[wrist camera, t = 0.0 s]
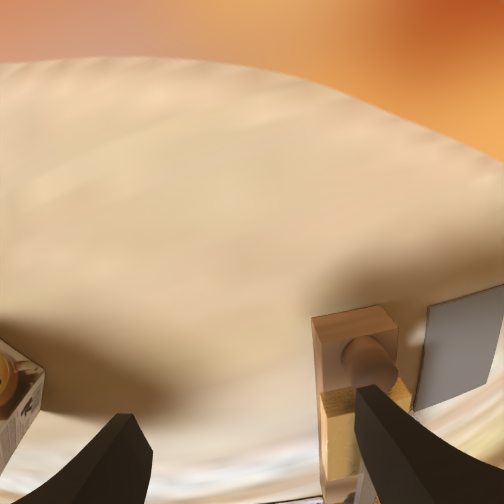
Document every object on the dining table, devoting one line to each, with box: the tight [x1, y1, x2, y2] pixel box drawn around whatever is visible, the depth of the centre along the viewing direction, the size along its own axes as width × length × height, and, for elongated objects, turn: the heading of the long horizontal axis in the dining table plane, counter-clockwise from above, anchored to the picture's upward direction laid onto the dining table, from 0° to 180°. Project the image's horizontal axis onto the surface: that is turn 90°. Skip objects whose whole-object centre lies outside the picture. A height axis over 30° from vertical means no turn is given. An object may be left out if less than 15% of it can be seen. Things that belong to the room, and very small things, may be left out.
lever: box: [343, 457, 377, 504], centre depth 17 cm, size 15×2×4 cm, turn 9°
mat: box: [413, 284, 504, 412], centre depth 21 cm, size 10×8×1 cm
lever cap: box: [320, 375, 412, 482], centre depth 17 cm, size 7×5×2 cm
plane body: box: [311, 305, 399, 504], centre depth 19 cm, size 19×4×6 cm, turn 9°
